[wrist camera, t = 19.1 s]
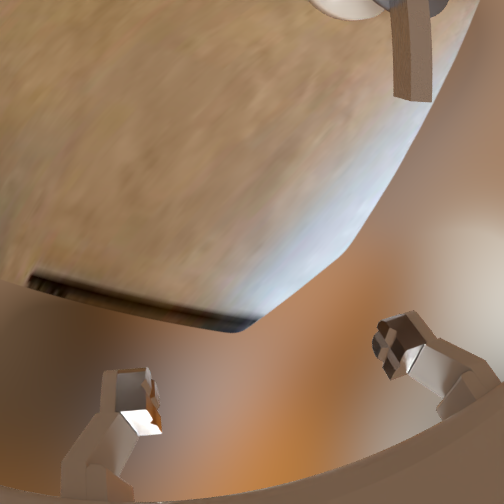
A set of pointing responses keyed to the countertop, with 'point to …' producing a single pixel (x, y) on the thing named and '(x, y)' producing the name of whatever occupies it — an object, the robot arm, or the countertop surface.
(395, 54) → the wooden bar
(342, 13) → the dial scale
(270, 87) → the countertop surface
